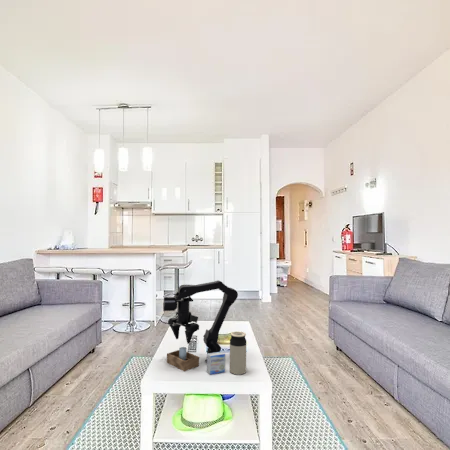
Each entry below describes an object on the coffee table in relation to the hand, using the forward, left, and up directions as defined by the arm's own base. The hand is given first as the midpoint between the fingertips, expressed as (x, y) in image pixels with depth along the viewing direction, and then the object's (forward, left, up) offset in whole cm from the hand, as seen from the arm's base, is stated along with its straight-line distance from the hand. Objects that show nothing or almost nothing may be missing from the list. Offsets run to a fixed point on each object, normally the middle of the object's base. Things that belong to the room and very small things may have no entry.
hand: (182, 341), depth 159 cm
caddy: (0, 0, -12) cm, 12 cm away
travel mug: (-25, -14, -12) cm, 31 cm away
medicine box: (-18, -6, -12) cm, 22 cm away
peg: (0, 0, -12) cm, 12 cm away
